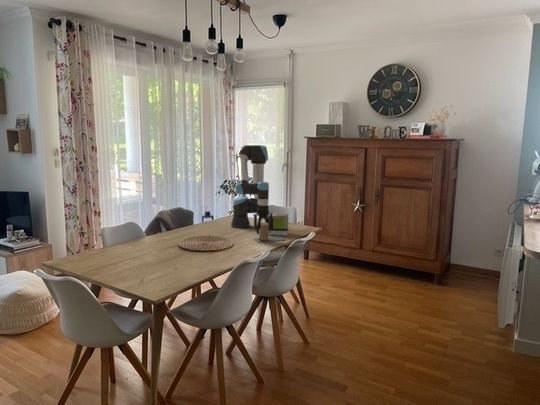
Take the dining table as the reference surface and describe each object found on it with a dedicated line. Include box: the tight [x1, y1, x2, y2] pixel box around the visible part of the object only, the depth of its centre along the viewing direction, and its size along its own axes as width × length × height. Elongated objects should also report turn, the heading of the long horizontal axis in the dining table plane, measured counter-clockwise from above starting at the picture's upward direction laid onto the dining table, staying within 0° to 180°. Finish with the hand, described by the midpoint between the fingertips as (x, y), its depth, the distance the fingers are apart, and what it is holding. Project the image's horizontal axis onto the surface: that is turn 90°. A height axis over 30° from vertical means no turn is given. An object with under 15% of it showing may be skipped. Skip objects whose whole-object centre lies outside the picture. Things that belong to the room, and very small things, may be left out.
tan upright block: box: [256, 220, 270, 240], centre depth 273 cm, size 9×5×11 cm, turn 22°
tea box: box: [267, 213, 289, 236], centre depth 292 cm, size 15×10×15 cm, turn 84°
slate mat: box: [253, 235, 286, 244], centre depth 276 cm, size 10×20×1 cm, turn 112°
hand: (262, 237), depth 274 cm, fingers closed on tan upright block, 5 cm apart
